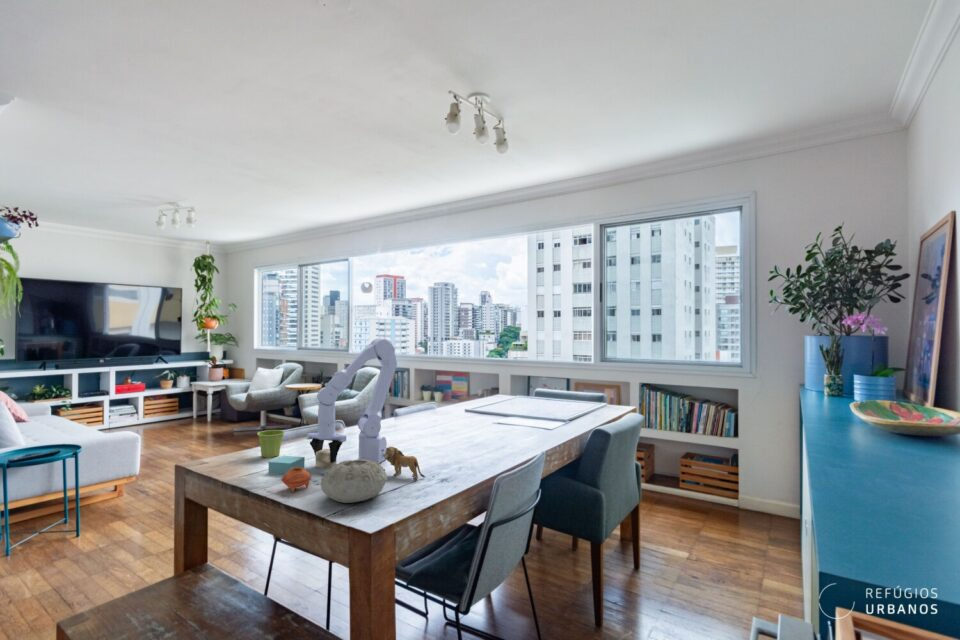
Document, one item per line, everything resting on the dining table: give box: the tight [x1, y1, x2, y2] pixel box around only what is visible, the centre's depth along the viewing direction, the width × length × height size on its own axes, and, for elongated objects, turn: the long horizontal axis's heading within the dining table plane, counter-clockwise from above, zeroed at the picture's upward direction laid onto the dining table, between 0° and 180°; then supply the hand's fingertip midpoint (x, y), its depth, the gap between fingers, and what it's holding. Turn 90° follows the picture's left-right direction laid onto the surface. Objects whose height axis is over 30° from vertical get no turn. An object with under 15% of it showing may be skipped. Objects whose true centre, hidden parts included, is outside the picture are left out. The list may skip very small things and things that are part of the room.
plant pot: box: [257, 429, 286, 459], centre depth 177 cm, size 9×9×9 cm
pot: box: [281, 467, 312, 493], centre depth 141 cm, size 8×8×7 cm
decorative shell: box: [320, 459, 388, 504], centre depth 134 cm, size 18×18×10 cm
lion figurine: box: [384, 446, 426, 481], centre depth 154 cm, size 15×5×9 cm, turn 69°
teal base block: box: [268, 455, 305, 476], centre depth 159 cm, size 8×8×4 cm
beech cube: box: [314, 448, 338, 469], centre depth 165 cm, size 5×5×5 cm
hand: (326, 461), depth 165 cm, fingers closed on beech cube, 5 cm apart
